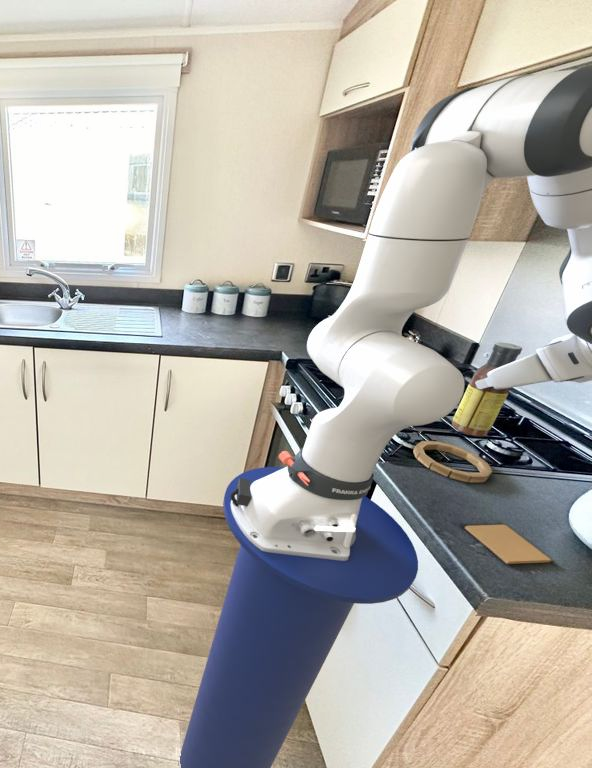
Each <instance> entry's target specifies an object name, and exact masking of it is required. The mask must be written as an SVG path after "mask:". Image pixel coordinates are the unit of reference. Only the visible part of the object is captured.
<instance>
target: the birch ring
mask: <svg viewBox="0 0 592 768" xmlns="http://www.w3.org/2000/svg"><path fill="white" fill-rule="evenodd" d="M425 450H427V451H429V450H430V451H431V450H437V451H441V452H445V453H449V454H452V455H454V456H457V457H459V458H462V459H464V460H465V461H467V462H469V463H470V464H472V465H473V466H474V467H476V468H477V470H478V472H466V471H462V470H458V469H454V468H451V467H449V466H446V465H444V464H442V463H439V462H437V461H436V460H434V459H433V458H431V457H430V456H429V455H427V454H426V453H425ZM412 451H413V452H412V453H413V455H414V457H415V459H416V460H417V461H418V462H420V463H421V464H423V465H424V467H426V468H427V469H430V470H431V471H433V472H435V473H438V474H440V475H442V476H444V477H446V478H448V477H449V479H453V480H457V481H461V482H466V483H471V484H472V483H484V482H486V481H487V480H488V479H489V478H490V476H491V475H492V473H493V469H492V468H491V466H490V464H489V463H488V462H487V461H486V460H485V459H483V458H482V457H480V456H479V455H477V454H475V453H473V452H471V451H470V450H467V449H465V448H462V447H460V446H458V445H453V444H451V443H446V442H442V441H438V440H436V441H435V440H421V441H420V442H418V443H417V444H415V445H414V447H413V450H412Z"/></svg>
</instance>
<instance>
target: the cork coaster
mask: <svg viewBox="0 0 592 768" xmlns="http://www.w3.org/2000/svg"><path fill="white" fill-rule="evenodd" d="M464 529H465V531H467V532H468V533H470V534H471V535H472V536H473V537H474V538H476V539H477V540H478V541H479V542H480V543H481V544H483V545H484V546H485V547H486V548H487V549H489V550H490V551H491V552H492V553H494V554H495V556H496V557H498V558H499V559H501V561H503V562H504V563H505V564H506V565H516V564H517V565H518V564H540V563H542V564H543V563H551V562H552V559H551V558H550V557H549V556H547V554H545V553H543V552H542V551H541V550H539V548H537V547H536V546H534V545H533V544H532V543H530V542H529V541H527V540H526V539H525V538H524V537H522V536H521V535H520V534H519V533H517V532H516V531H515V530H513V529H512V528H510V527H509V526H508V525H506V524H485V525H484V524H483V525H482V524H481V525H479V524H478V525H465V526H464Z"/></svg>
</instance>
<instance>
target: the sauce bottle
mask: <svg viewBox="0 0 592 768" xmlns="http://www.w3.org/2000/svg"><path fill="white" fill-rule="evenodd" d="M522 350H523V347H522V346H519V345H517V344H514V343H510V342H509V343H508V342H502V341H501V342H495V344H494V345H493V346H492V352H491V353H490V355H489V358H488V360H487V361H486V363H485V364H484V365H481V366H480V367H479V368H477V369H476V370H475V371H474V373H473V375H472V378H471V380H470V382H469V383H468V385H467V387H466V389H465V392H464V393H463V395H462V398H461V400H460V402H459V404H458V406H457V410H456V411H455V413H454V415H453V417H452V422H451V425H452V427H453V429H454V430H456V431H459V432H460V433H463V434H465V435H468V436H471V437H481V438H482V437H485V436H487V435H488V434H489V432H490V430H491V429H492V428H493V425H494V423H495V422H496V419H497V417H498V416H499V414H500V411H501V409H502V407H503V405H504V404H505V401H506V400H507V397H508V396H509V393H510V389H511V388H506V389H495V388H494V387H493V386H492V387H487V388H483V389H478V388H477V386H476V384H475V382H476V381H478V380H482V379H485V378H487V377H488V376H487V373H488V372H490V371H492V370H494V369H496V368H498V367H501V366H503V365H506V364H508V363H511V362H513V361H516V360H517V358H518V357H519V356H520V355H521V353H522Z"/></svg>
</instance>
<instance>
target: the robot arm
mask: <svg viewBox="0 0 592 768" xmlns="http://www.w3.org/2000/svg"><path fill="white" fill-rule="evenodd" d="M515 178H518V179H519V178H526V181H527V185H528V189H529V195H530V197H531V201H532V203H533V206H534V208H535V210H536V211H537V214H538V215H539V217H540V219H541V220H542V221H543V222H544V224H545V225H546V226H548V227H552V228H556V229H561V230H566V231H567V237H568V241H569V246H570V247H569V251H568V253H567V255H566V256H565V258H564V259H563V261H562V262H561V265H560V267H559V272H558V275H559V279H560V284H561V286H562V287H561V289H562V302H563V313H564V314H563V315H564V321H565V324H566V327H567V329H568V331H569V332H570V333H568V334H565V335H561V336H559V337H555V338H553V339H552V340H551V341H550V342H549V343H547V344H546V345H544V346H541V347H540V348H536V350H535V352H534V353H531V354H529V355H527V356H524V357H521V358H519V359H516V360H515V361H513V362H511V363H508V364H506V365H503V366H501V367H498V368H496V369H494V370H492V371H490V372H488V373H487V376H488V377H487V378H485V379H482V380H478V381H476V382H475V384H476V386H477V388H478V389H483V388H487V387H492V386H493V387H494V388H495V389H506V388H510V389H512V388H518V387H523V386H528V385H535V384H539V383H546V382H554V383H563V382H574V383H578V384H581V383H585V382H586V383H587V382H591V381H592V64H589V65H586V66H583V67H580V68H577V69H566V70H556V71H549V72H542V73H536V74H535V73H525V74H521V75H517V76H511V77H508V78H504V79H501V80H497V81H494V82H491V83H487V84H484V85H481V86H471V87H468V88H465V89H462V90H459V91H456V92H454V93H452V94H450V95H448V96H446V97H444V98H443V99H441V100H439V101H437V103H435V104H433V106H432V107H431V108H430V109H429V110H428V111H427V112H426V114H425V115H424V116H423V118H422V119H421V121H420V123H419V125H418V126H417V128H416V130H415V133H414V134H413V137H412V140H411V145H410V148H409V152H408V153H407V154H405V155H404V156H403V157H402V158H401V159H400V160H399V162H398V163H397V164H396V165H395V167H394V169H393V171H392V173H391V175H390V177H389V179H388V181H387V184H386V185H385V188H384V189H383V192H382V194H381V196H380V199H379V202H378V204H377V206H376V209H375V212H374V215H373V218H372V220H371V224H370V227H369V230H368V233H367V237H366V241H365V244H364V247H363V251H362V254H361V258H360V261H359V264H358V268H357V271H356V273H355V276H354V279H353V283H352V285H351V287H350V289H349V291H348V293H347V295H346V297H345V299H343V302H341V304H340V306H338V307H339V308H338V309H336V311H335V312H334V313H333V314H332V315H331V316H328V317H327V318H324V319H323V320H322V321H320V322H318V324H316V325H315V327H314V328H313V329H312V330H311V331H310V333H309V335H308V337H307V342H306V351H307V354H308V356H309V358H310V359H311V360H312V362H313V363H314V364H315V365H316V367H317V368H318V369H319V371H320V372H321V373H322V374H324V375H325V376H327V378H329V379H330V380H332V381H334V382H335V383H336V384H337V385H339V386H340V387H342V388H343V391H344V394H343V399H342V401H341V402H340V404H339V405H338V407H337V406H336V407H330V408H326V409H324V410H322V411H320V412H318V413H317V414H315V416H313V419H312V420H311V424H310V426H309V428H308V433H307V435H306V438H305V442H304V445H303V447H301V449H299V451H298V452H297V453H296V454H295V455H294V456H291V454H290V453H289V451H287V450H283V451H281V452H280V453H279V454H278V459H279V460H280V461H281V462H282V464H283V465H284V466H285V468H283V469H281V470H278V471H276V472H274V473H272V474H270V475H268V476H265V477H263V478H261V479H259V480H256V481H254V482H253V483H252V484H251V486H250V480H247V479H243V478H239V480H238V484H237V489H235V490H234V491H233V492H232V493H231V511H232V514H233V516H234V519H235V521H236V523H237V524H238V526H239V528H240V529H241V531H242V532H243V534H244V535H245V536H246V537H247V539H248V540H249V541H250V542H251V543H252V544H254V545H255V546H256V547H257V548H259V549H260V550H262V551H264V552H270V553H278V554H287V555H295V556H304V557H312V558H321V559H330V560H338V561H347V560H348V559H349V555H350V547H351V546H352V545H353V543H354V542H355V539H356V523H357V519H358V514H359V510H360V505H361V501H362V498H363V497H364V496H366V497H367V495H368V493H369V490H371V488H372V486H371V485H372V483H373V481H374V478H375V475H374V471H375V469H376V467H377V465H378V462H379V460H380V458H381V457H382V454H383V452H384V450H385V449H386V446H387V445H388V443H389V442H390V441H391V440H392V439H393V437H395V436H396V435H397V434H398V433H399V432H401V431H402V430H404V429H407V428H409V427H417V426H418V427H419V426H424V425H425V426H426V425H429V424H432V423H434V422H435V423H436V422H437V421H440V420H442V419H443V418H445V417H447V416H448V415H449V414H450V413H452V412H453V411H454V410H455V408H456V407H458V406H459V404H460V403H461V400H462V398H463V396H464V393H465V392H464V391H465V378H464V376H463V373H462V372H461V371H460V370H459V369H458V368H457V367H456V366H455V365H453V364H452V363H451V362H450V361H448V360H447V359H446V358H445V357H444V356H442V355H441V354H439V353H438V352H437V351H435V350H434V349H432V348H430V347H427V346H425V345H423V344H421V343H418V342H416V341H414V340H412V339H410V338H407V337H406V336H403V334H402V331H403V328H404V326H405V324H406V322H407V321H408V319H409V318H410V317H411V316H412V315H413V313H414V312H415V311H417V310H421V309H424V308H428V307H430V306H432V305H434V304H437V303H438V302H440V301H441V300H442V299H443V298H444V297H445V296H446V295H447V294H448V293H449V291H450V288H451V287H452V283H453V281H454V278H455V275H456V273H457V271H458V268H459V265H460V262H461V259H462V257H463V254H464V252H465V249H466V247H467V245H468V242H469V239H470V236H471V233H472V231H473V228H474V225H475V222H476V219H477V215H478V213H479V209H480V204H481V201H482V198H483V197H482V196H483V192H484V191H485V190H486V188H487V187H488V186H489V185H490V184H491V182H492V181H494V179H495V180H496V179H501V180H502V179H515ZM236 494H237V495H236Z"/></svg>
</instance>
